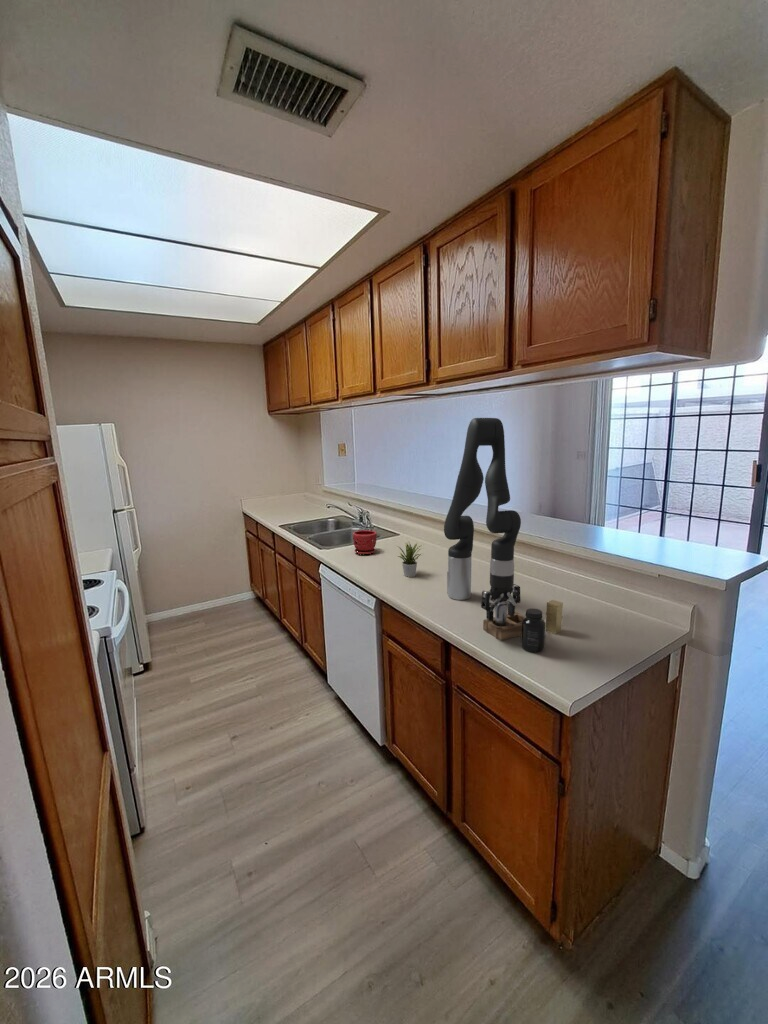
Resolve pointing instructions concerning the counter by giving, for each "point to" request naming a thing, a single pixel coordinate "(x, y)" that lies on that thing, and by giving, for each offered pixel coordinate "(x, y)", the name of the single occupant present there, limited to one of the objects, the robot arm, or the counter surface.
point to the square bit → (554, 616)
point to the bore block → (505, 627)
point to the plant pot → (362, 545)
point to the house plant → (410, 560)
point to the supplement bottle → (533, 631)
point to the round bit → (500, 614)
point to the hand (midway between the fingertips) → (500, 618)
